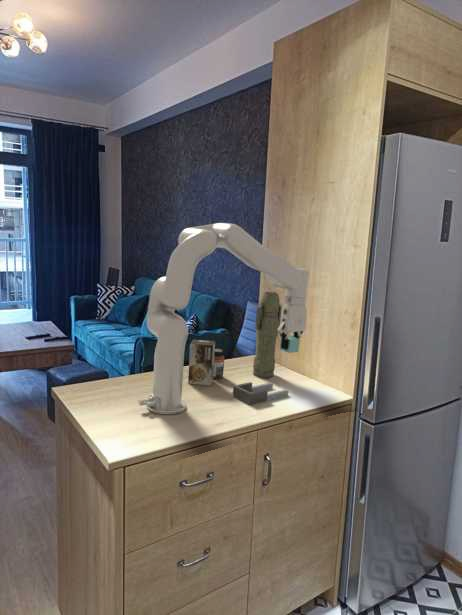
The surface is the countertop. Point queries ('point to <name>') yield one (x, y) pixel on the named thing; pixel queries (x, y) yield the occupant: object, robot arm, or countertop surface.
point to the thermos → (266, 334)
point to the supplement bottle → (218, 364)
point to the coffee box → (201, 362)
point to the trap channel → (256, 393)
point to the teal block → (292, 344)
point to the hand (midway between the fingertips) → (289, 347)
